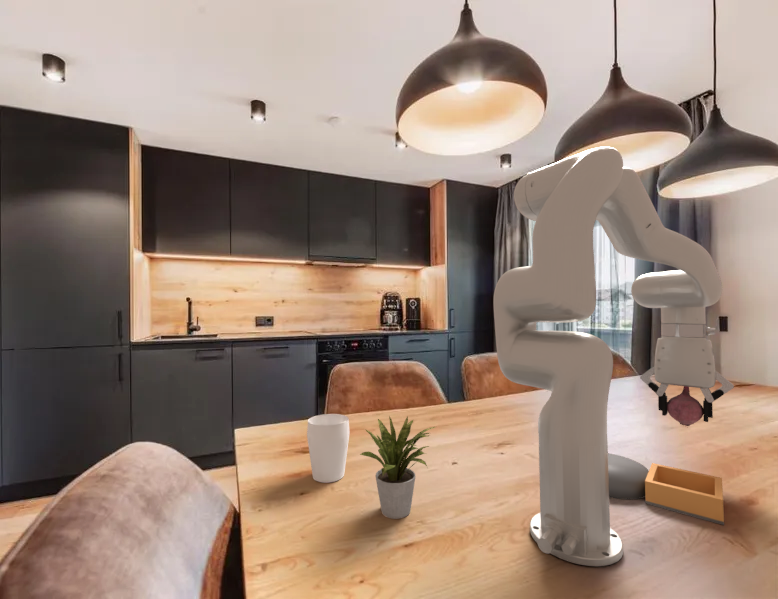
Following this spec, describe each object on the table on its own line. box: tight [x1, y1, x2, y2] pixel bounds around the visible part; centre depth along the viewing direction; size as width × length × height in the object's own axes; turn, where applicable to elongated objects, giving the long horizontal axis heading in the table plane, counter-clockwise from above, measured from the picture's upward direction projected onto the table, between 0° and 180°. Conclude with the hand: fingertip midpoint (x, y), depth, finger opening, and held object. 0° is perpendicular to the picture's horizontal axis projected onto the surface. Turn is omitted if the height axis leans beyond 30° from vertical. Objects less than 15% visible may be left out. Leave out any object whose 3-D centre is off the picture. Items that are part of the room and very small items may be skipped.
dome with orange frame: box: [608, 452, 725, 526], centre depth 72 cm, size 14×24×4 cm, turn 49°
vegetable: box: [667, 386, 703, 428], centre depth 79 cm, size 6×6×10 cm
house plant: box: [359, 415, 436, 520], centre depth 64 cm, size 14×14×16 cm
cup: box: [306, 413, 351, 484], centre depth 79 cm, size 9×9×12 cm
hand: (684, 416), depth 78 cm, fingers closed on vegetable, 6 cm apart
